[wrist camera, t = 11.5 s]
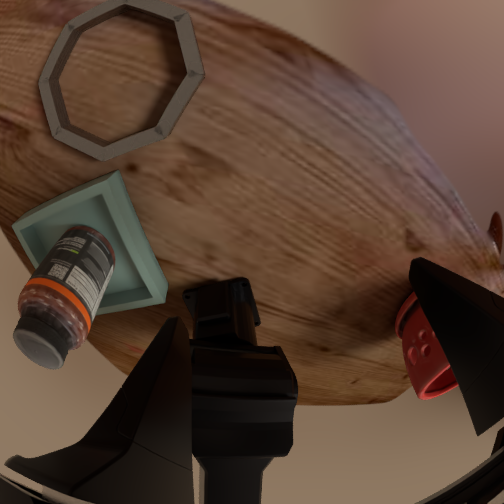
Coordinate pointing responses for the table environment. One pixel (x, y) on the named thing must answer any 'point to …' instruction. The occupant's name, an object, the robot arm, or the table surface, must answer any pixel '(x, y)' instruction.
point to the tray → (112, 227)
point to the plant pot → (423, 352)
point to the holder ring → (48, 81)
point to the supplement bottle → (64, 296)
